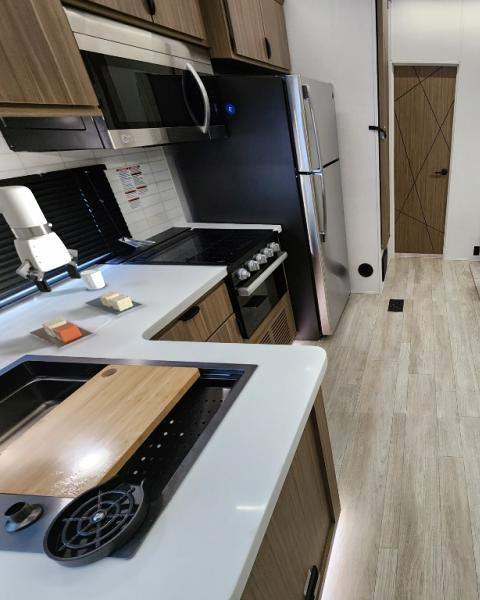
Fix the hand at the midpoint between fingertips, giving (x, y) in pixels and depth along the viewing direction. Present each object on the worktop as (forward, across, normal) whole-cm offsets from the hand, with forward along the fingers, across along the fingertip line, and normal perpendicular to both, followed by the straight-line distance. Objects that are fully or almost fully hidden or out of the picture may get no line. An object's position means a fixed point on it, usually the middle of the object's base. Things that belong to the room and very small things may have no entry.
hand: (62, 284), depth 103 cm
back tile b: (+17, -18, -6) cm, 25 cm away
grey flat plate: (+17, -18, -6) cm, 26 cm away
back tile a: (+17, -15, 0) cm, 23 cm away
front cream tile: (+17, +2, -8) cm, 19 cm away
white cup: (+18, -33, -27) cm, 46 cm away
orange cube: (+17, +4, -1) cm, 17 cm away
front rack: (+17, +2, -7) cm, 19 cm away
